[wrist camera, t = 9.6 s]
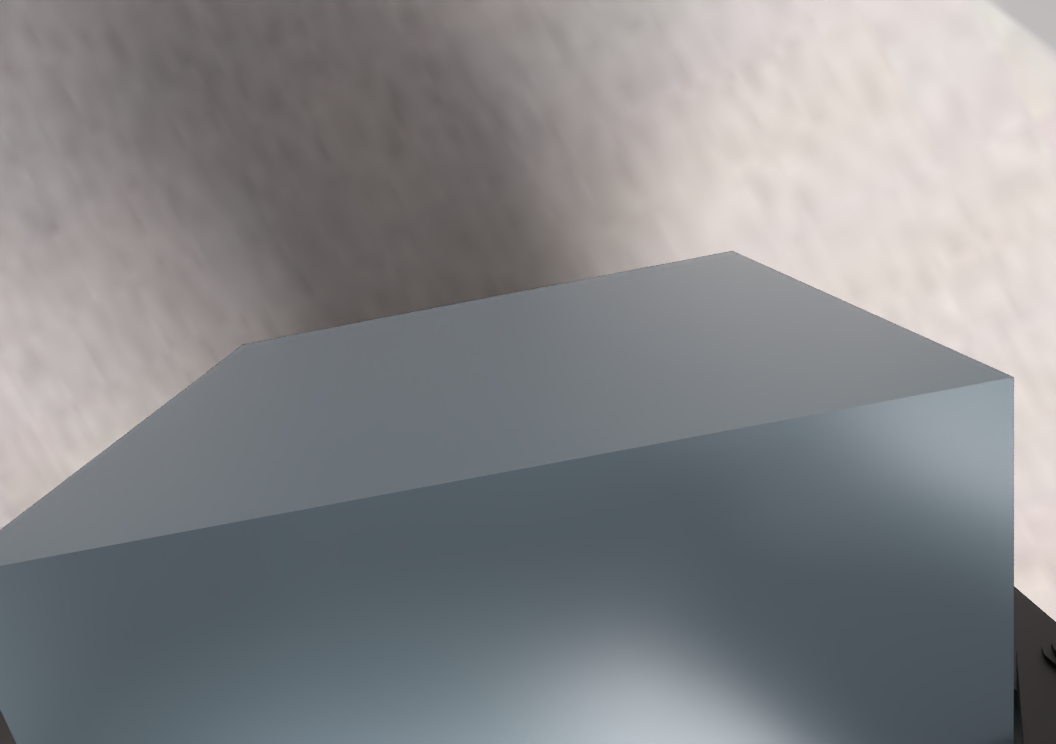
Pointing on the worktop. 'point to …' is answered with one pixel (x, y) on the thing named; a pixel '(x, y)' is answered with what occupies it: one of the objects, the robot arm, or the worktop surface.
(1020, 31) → the worktop surface
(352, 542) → the slate gray cube
